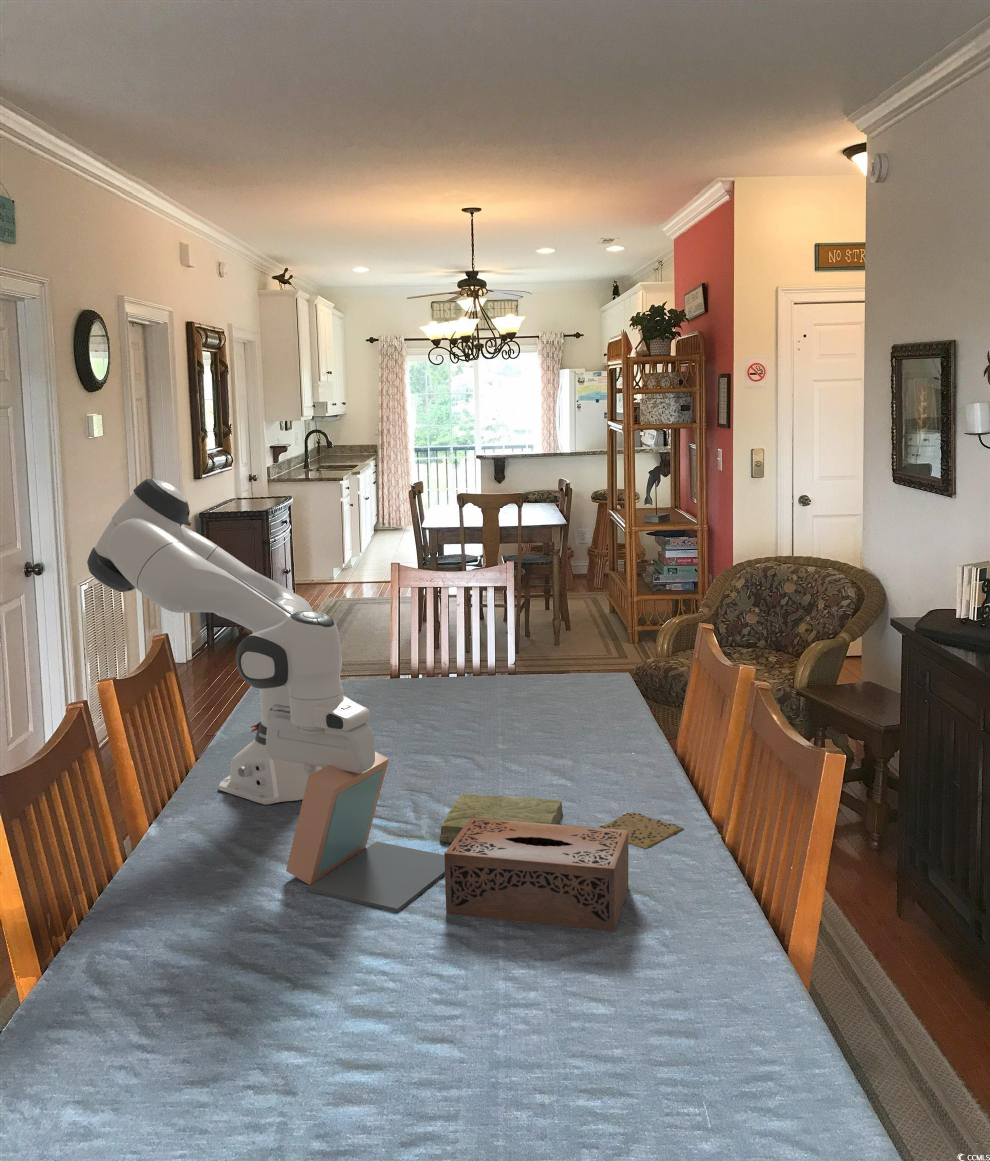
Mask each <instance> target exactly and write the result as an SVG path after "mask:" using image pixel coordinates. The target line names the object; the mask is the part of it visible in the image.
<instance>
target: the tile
mask: <svg viewBox="0 0 990 1161" xmlns="http://www.w3.org/2000/svg"><path fill="white" fill-rule="evenodd" d="M389 760H390V758H388V757H386V756H385V755H383V754H381V753H379V752H377V751H375V763H374V765H373V766H372V767H371V768H370V769H369V770H367V771H365V772H363V773H354V772H348V771H343V770H340V769H338V768H336V767H334V766H332V765H329V766H327V767H325V768H323V769H321V770H319V771H317V772H315V773H313V774H311V775H309V776H308V780H307V784H306V789H305V793H304V797H303V799H302V802H301V806H300V810H299V814H298V818H297V823H296V827H295V830H294V831H295V832H294V835H293V840H292V843H291V844H292V845H291V848H290V851H289V856H288V861H287V865H286V869H285V872H287V873H288V874H289V875H292V876H294V877H295V878H297V879H299V880H300V881H302V882H303V883H306V885H309V886H311V885H312V884H314V883H315V882H317V881H318V880H320V879H321V878H323V877H324V876H326V875H327V874H329V873H330V872H332V871H333V870H335V869H336V868H337V867H339V866H340V865H342V864H343V863H345V862H346V861H348V860H349V859H351V858H352V857H354V856H355V855H357V854H358V853H360V852H361V851H363V850H364V849H366V848H367V845H368V844H367V843H368V840H369V836H370V832H371V830H372V825H373V821H374V817H375V813H376V809H377V805H378V801H379V798H380V794H381V791H382V786H383V782H384V779H385V775H386V771H387V766H388V764H389Z"/></svg>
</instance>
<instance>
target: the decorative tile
mask: <svg viewBox="0 0 990 1161" xmlns="http://www.w3.org/2000/svg"><path fill="white" fill-rule="evenodd" d="M562 803H563V801H562V800H559V799H547V798H539V797H536V798H535V797H527V796H525V797H524V796H507V795H505V796H504V795H503V796H502V795H494V794H491V795H489V794H488V795H483V794H481V795H480V794H475V793H463V794H462V795H461V794H460V795H459V796H458V797H457V798H456V800H455V802H454V804H453V805H452V807H451V808H450V810H449V812H448V813H447V815H446V816H445V817H444V818H445V819H444V820H443V822H442V825H441V827H440V833H439V841H440V842H442V843H452V842H453V841H454V840H455V838H456V837H457V836H458V834H459V833H460V831H461V830H462V829H463V827H464V826H465V825H466V823H467V822H468V821H469V819H470V818H471V817H474V818H486V819H498V820H510V821H522V822H534V823H546V824H558V825H559V823H560V820H561V817H562V815H563V812H564V811H563V804H562Z"/></svg>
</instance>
